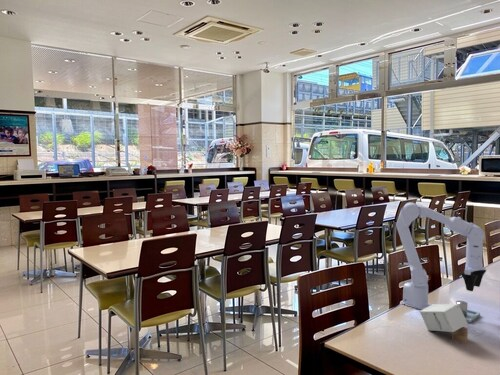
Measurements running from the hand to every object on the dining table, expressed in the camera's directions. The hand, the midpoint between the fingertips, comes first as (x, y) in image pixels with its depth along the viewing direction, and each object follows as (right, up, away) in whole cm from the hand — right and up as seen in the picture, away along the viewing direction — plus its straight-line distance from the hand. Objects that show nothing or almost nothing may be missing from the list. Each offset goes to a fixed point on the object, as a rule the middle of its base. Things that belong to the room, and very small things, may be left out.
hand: (473, 288), depth 153 cm
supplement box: (-24, -7, -13) cm, 28 cm away
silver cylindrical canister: (-6, -10, -3) cm, 12 cm away
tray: (-6, -10, -2) cm, 12 cm away
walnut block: (-18, -12, -22) cm, 31 cm away
